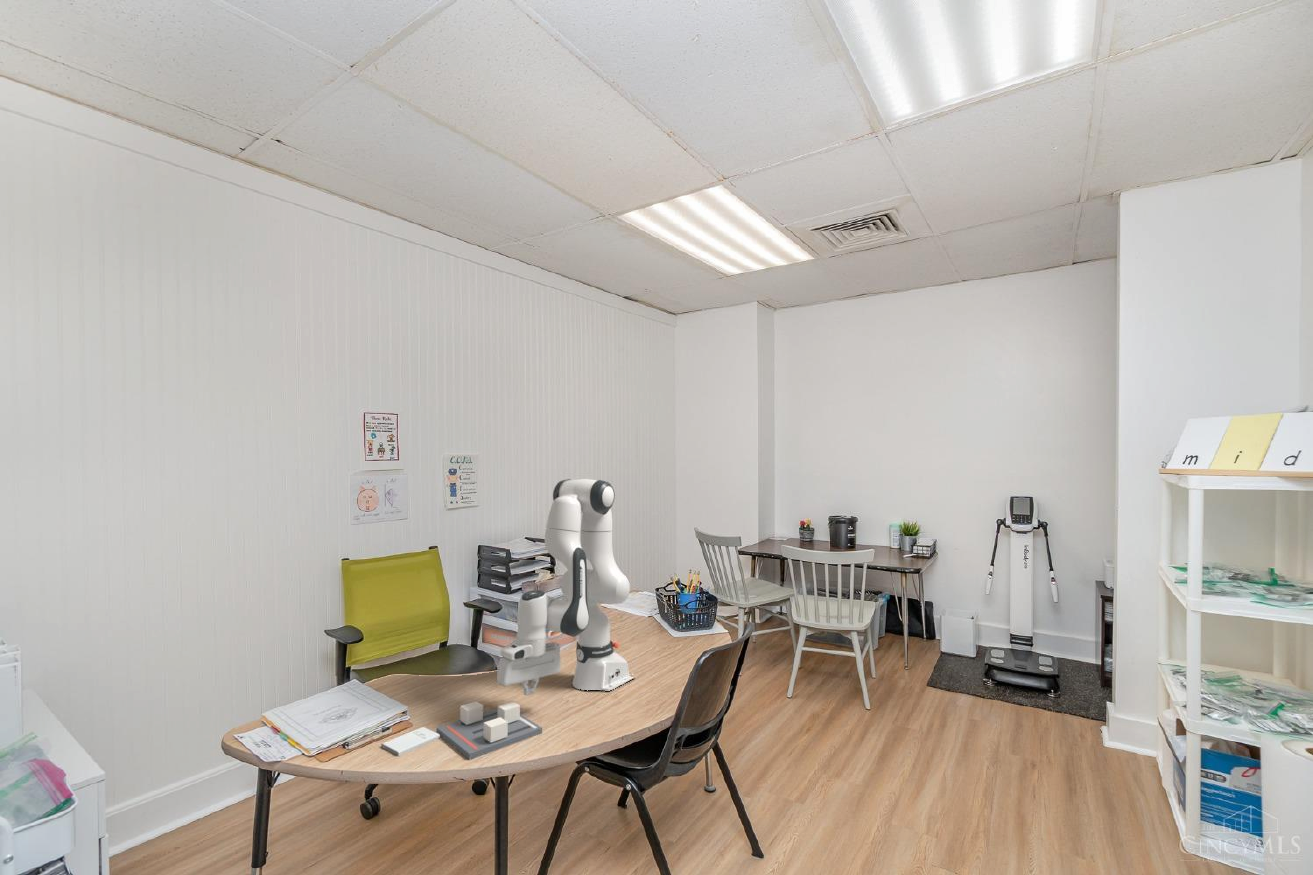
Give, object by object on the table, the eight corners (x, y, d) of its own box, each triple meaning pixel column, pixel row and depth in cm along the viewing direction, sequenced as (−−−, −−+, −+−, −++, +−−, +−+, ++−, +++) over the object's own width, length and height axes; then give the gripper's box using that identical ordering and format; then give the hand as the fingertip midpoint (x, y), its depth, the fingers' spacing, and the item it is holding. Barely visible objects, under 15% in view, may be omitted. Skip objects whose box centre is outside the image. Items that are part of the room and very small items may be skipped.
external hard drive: (381, 749, 160) (422, 731, 170) (398, 758, 156) (440, 739, 166) (381, 742, 160) (422, 725, 170) (398, 752, 156) (440, 733, 166)
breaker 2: (500, 731, 166) (500, 717, 166) (507, 736, 163) (507, 721, 163) (483, 737, 162) (483, 722, 163) (490, 742, 160) (491, 727, 160)
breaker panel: (506, 710, 184) (506, 705, 184) (542, 732, 170) (542, 727, 170) (436, 732, 169) (436, 726, 169) (469, 759, 154) (469, 753, 154)
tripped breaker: (512, 714, 177) (512, 701, 177) (519, 719, 174) (520, 705, 174) (497, 719, 173) (497, 705, 173) (504, 724, 170) (504, 710, 170)
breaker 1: (476, 714, 176) (476, 701, 176) (482, 719, 173) (483, 705, 173) (460, 720, 173) (460, 706, 173) (466, 724, 170) (466, 710, 170)
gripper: (554, 638, 188) (552, 683, 187) (495, 650, 174) (493, 698, 173) (565, 642, 184) (564, 688, 183) (506, 655, 169) (504, 705, 169)
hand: (529, 693), depth 178 cm, fingers closed
